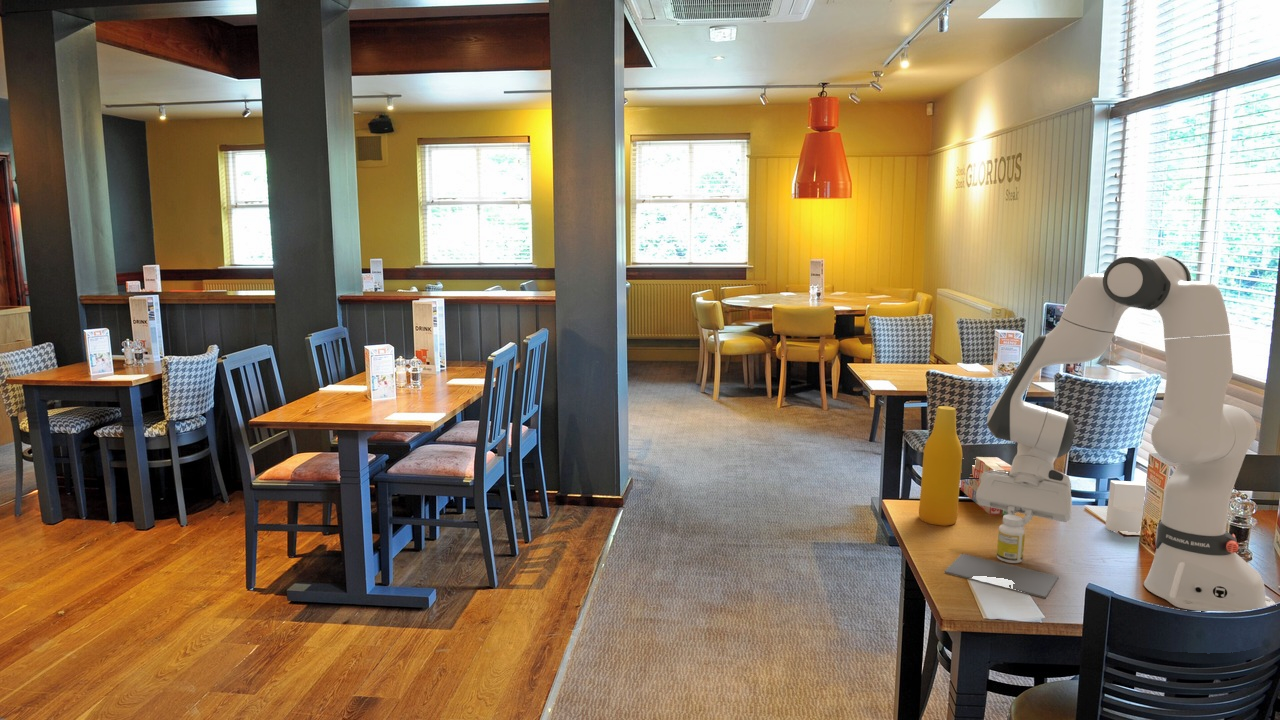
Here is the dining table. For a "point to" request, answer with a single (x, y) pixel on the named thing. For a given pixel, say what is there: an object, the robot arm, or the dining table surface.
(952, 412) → the yellow bottle
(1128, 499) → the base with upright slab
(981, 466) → the stack of blocks
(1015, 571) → the charcoal mat
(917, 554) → the dining table surface
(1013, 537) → the supplement bottle
